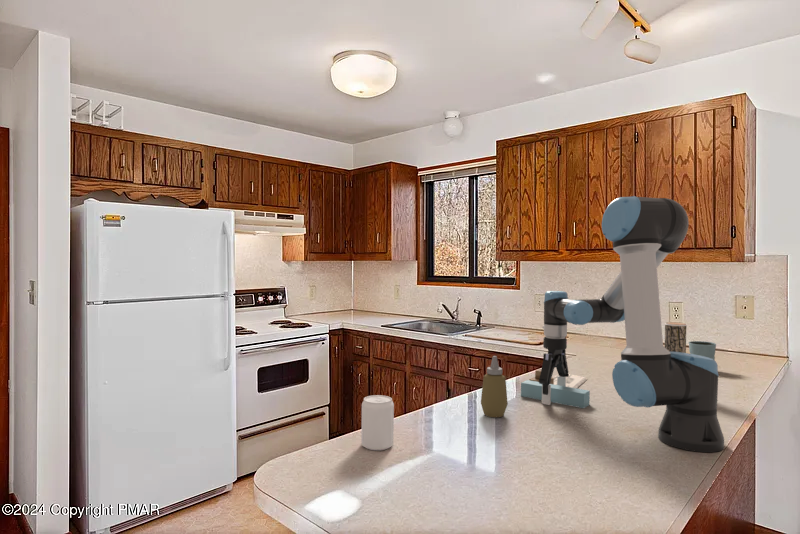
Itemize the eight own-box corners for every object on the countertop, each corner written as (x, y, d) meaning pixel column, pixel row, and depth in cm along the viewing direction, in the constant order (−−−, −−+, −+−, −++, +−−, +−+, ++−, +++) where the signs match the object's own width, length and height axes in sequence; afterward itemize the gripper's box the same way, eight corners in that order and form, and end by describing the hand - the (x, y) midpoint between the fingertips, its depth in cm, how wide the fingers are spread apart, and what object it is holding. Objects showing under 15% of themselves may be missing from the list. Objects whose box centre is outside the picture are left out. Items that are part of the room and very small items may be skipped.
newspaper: (555, 377, 213) (556, 371, 213) (586, 384, 207) (587, 377, 207) (539, 388, 194) (540, 381, 194) (573, 396, 187) (574, 389, 187)
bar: (583, 409, 167) (584, 393, 167) (520, 396, 181) (520, 382, 181) (589, 405, 171) (589, 390, 171) (527, 394, 185) (527, 380, 185)
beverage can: (376, 438, 138) (376, 392, 138) (399, 445, 133) (400, 398, 132) (354, 446, 132) (355, 399, 131) (378, 454, 126) (379, 405, 126)
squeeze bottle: (487, 420, 154) (488, 359, 153) (476, 412, 162) (477, 354, 161) (512, 418, 156) (513, 358, 156) (500, 410, 164) (500, 353, 163)
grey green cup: (720, 372, 223) (721, 344, 222) (703, 373, 219) (704, 345, 219) (699, 367, 232) (700, 340, 232) (682, 368, 228) (683, 341, 228)
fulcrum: (545, 393, 185) (545, 373, 185) (529, 390, 189) (529, 371, 189) (553, 388, 192) (553, 369, 191) (537, 386, 195) (538, 367, 195)
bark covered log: (687, 396, 183) (689, 325, 183) (666, 394, 184) (668, 324, 184) (681, 391, 190) (682, 322, 189) (661, 390, 191) (662, 322, 191)
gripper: (557, 331, 188) (556, 390, 188) (529, 340, 168) (528, 405, 169) (578, 333, 183) (577, 393, 184) (551, 342, 163) (550, 410, 164)
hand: (553, 399), depth 176 cm, fingers open, 13 cm apart
